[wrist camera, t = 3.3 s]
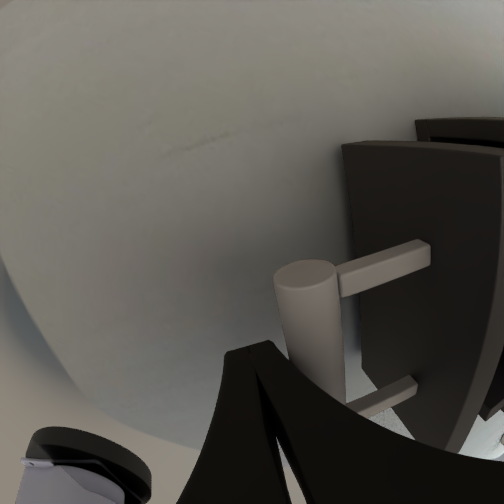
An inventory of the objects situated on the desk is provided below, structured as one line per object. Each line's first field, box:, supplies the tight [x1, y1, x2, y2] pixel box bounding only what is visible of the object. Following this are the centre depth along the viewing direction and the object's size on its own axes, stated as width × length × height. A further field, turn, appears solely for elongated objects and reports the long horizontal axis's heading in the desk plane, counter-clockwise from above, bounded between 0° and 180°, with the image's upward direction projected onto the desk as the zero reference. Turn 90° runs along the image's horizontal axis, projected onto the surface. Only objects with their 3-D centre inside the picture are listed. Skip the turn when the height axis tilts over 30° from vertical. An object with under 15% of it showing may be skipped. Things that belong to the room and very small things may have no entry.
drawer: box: [273, 141, 504, 453], centre depth 9 cm, size 17×10×7 cm, turn 103°
